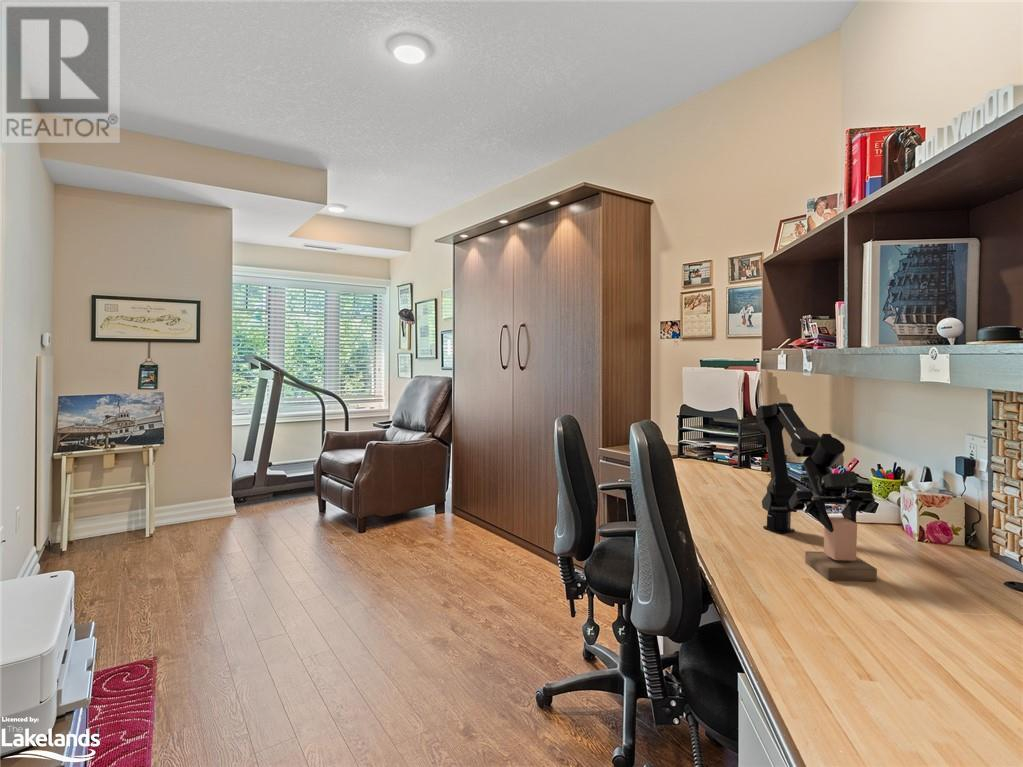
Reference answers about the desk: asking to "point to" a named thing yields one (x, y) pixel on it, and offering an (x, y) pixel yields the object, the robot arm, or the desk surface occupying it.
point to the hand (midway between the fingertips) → (843, 531)
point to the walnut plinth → (840, 568)
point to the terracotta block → (841, 539)
